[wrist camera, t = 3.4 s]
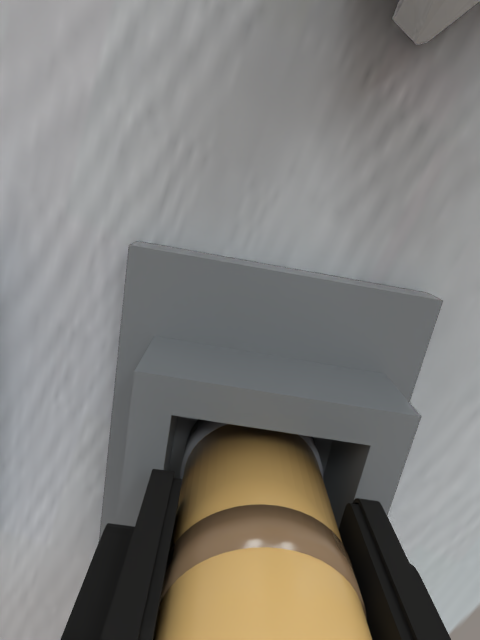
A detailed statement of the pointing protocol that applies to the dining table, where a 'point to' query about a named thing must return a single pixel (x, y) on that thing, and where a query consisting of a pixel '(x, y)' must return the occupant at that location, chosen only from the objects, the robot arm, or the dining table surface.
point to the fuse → (256, 544)
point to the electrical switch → (428, 16)
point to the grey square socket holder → (263, 369)
